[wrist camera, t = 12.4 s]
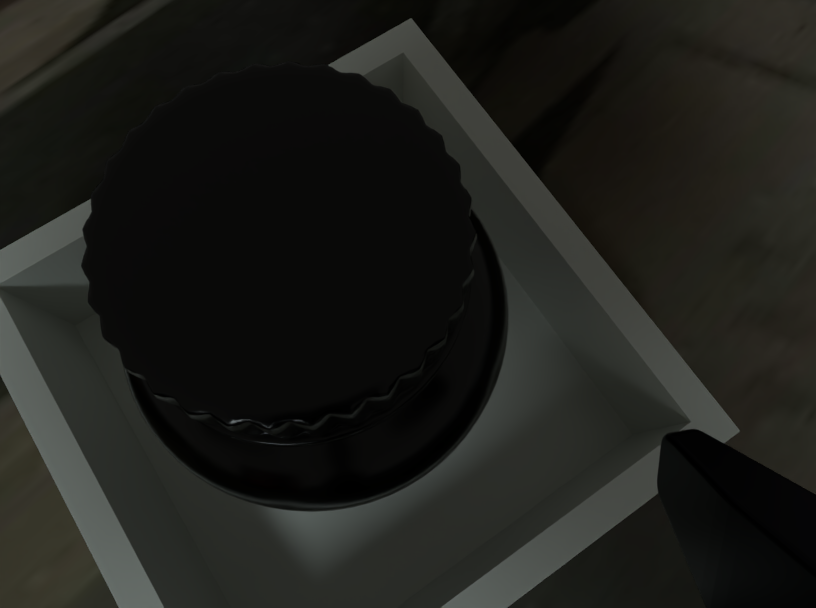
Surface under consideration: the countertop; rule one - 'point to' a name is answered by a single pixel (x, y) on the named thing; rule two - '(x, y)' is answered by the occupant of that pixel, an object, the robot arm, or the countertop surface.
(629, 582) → the countertop surface
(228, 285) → the supplement bottle
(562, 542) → the box
